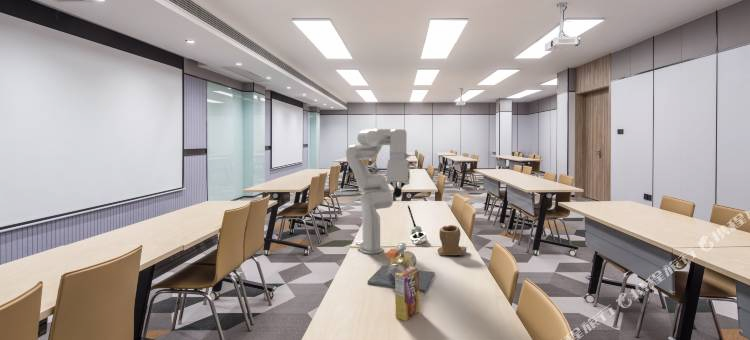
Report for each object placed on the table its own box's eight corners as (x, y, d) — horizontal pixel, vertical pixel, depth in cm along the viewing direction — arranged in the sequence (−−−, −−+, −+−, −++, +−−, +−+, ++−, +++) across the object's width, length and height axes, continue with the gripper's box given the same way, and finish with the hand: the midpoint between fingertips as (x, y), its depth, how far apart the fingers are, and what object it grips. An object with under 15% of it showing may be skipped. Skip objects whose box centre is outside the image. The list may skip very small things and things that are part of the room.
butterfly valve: (429, 244, 195) (425, 233, 212) (418, 212, 191) (415, 203, 208) (414, 249, 195) (411, 237, 212) (403, 216, 192) (401, 207, 209)
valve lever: (399, 247, 150) (399, 242, 150) (407, 248, 148) (407, 243, 148) (386, 257, 137) (386, 252, 137) (394, 258, 136) (394, 253, 135)
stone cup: (438, 258, 175) (438, 228, 173) (437, 250, 187) (437, 222, 185) (469, 259, 173) (469, 229, 171) (466, 251, 185) (466, 223, 183)
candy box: (409, 307, 124) (409, 265, 123) (419, 311, 121) (420, 268, 120) (394, 317, 117) (394, 273, 116) (404, 321, 115) (405, 276, 113)
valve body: (367, 283, 144) (367, 253, 143) (382, 267, 162) (382, 240, 161) (425, 292, 136) (425, 260, 135) (434, 274, 154) (434, 246, 152)
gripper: (416, 156, 159) (415, 196, 161) (385, 156, 164) (385, 194, 166) (412, 157, 152) (411, 199, 154) (379, 156, 157) (379, 197, 159)
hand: (397, 196), depth 160 cm, fingers closed
